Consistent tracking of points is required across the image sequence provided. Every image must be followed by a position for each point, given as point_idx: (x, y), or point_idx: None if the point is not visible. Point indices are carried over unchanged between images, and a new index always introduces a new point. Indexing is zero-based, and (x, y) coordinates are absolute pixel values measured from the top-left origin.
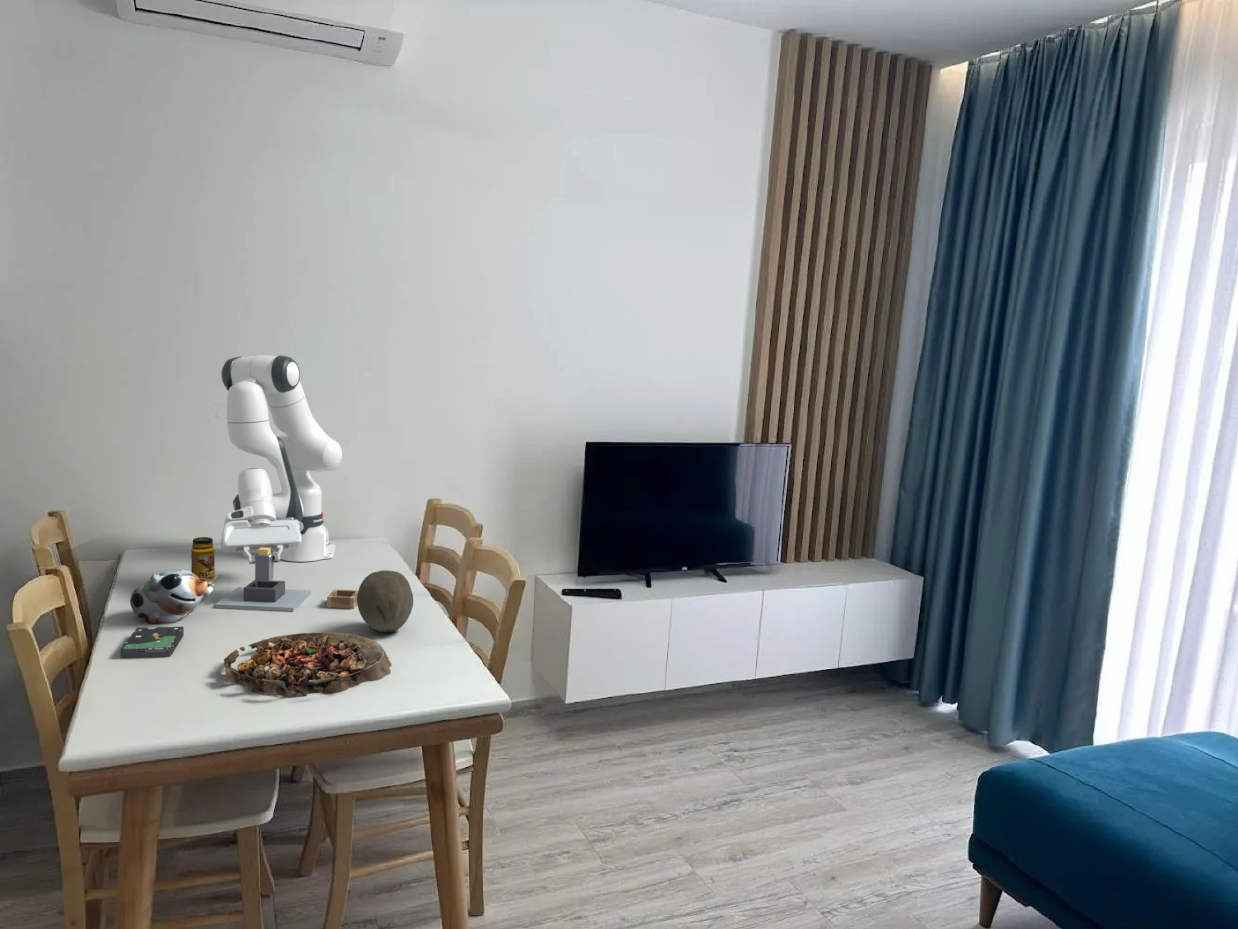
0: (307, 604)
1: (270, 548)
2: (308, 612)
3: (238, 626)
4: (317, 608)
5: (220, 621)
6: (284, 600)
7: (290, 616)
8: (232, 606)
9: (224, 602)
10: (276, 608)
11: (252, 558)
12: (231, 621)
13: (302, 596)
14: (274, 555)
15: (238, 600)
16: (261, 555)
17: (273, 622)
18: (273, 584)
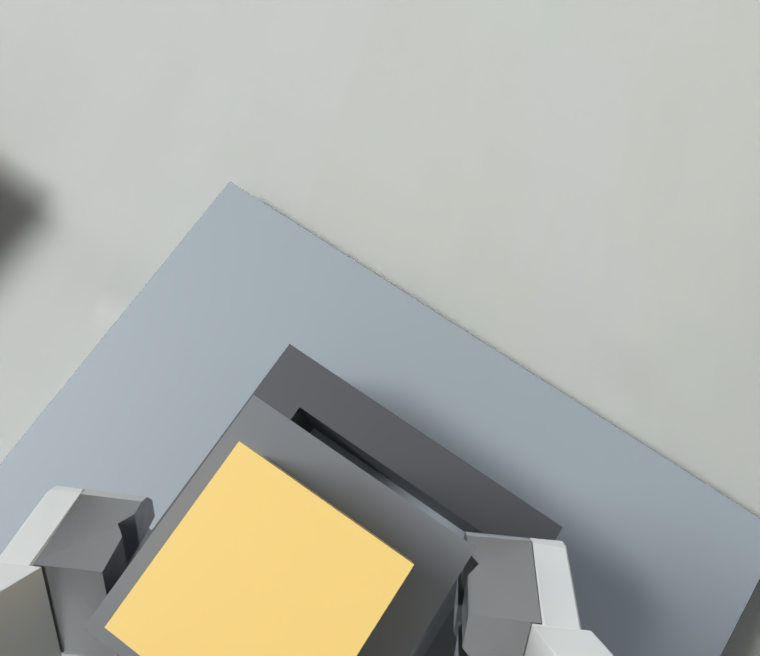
0: (71, 322)
1: (118, 612)
2: (147, 140)
3: (653, 51)
4: (51, 200)
5: (754, 192)
6: (217, 395)
7: (289, 108)
8: (641, 445)
9: (699, 554)
10: (335, 252)
11: (516, 566)
12: (682, 162)
13: (40, 445)
14: (108, 551)
15: (574, 567)
16: (367, 498)
17: (428, 39)
18: None
